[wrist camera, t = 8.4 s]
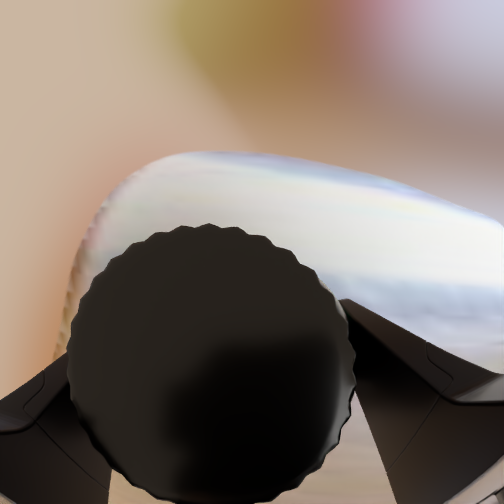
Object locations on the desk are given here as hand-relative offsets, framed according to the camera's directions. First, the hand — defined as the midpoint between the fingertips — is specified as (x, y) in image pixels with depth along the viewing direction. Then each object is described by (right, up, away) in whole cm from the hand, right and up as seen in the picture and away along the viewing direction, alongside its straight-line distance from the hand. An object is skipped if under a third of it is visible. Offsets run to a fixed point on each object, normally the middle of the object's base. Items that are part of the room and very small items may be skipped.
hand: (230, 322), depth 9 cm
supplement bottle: (+1, -4, +6) cm, 7 cm away
